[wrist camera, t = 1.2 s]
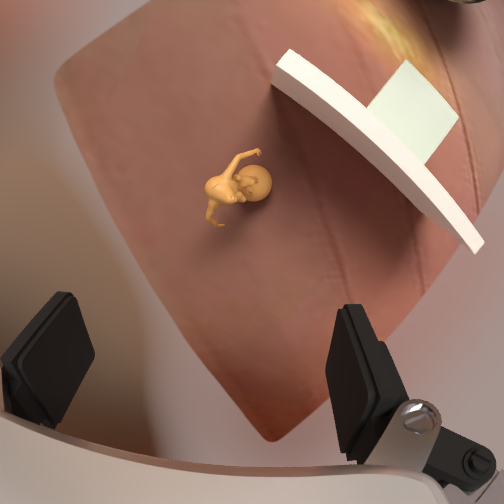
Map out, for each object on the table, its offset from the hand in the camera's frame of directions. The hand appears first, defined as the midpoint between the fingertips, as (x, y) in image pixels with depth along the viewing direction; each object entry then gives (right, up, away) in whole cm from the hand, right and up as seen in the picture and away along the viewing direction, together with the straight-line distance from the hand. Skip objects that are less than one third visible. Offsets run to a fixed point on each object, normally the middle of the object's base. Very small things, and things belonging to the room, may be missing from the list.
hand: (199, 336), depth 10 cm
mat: (+21, +19, +20) cm, 35 cm away
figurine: (+1, +12, +25) cm, 27 cm away
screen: (+14, +15, +22) cm, 30 cm away
